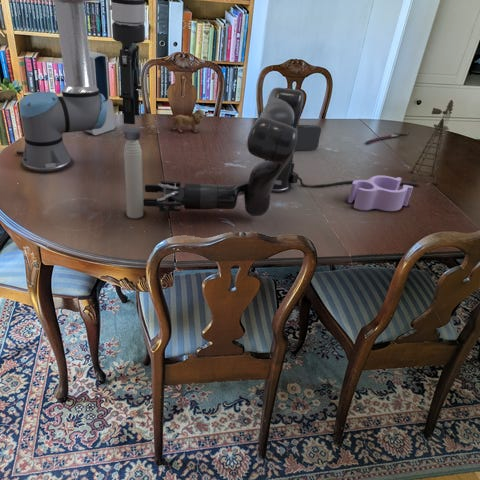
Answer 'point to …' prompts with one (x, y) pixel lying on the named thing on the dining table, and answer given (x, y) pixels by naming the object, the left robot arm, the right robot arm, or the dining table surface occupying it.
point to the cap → (132, 133)
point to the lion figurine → (189, 120)
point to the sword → (384, 137)
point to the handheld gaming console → (307, 137)
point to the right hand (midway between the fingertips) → (144, 195)
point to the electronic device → (102, 89)
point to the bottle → (133, 179)
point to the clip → (379, 193)
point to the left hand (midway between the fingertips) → (131, 118)
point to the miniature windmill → (438, 128)
